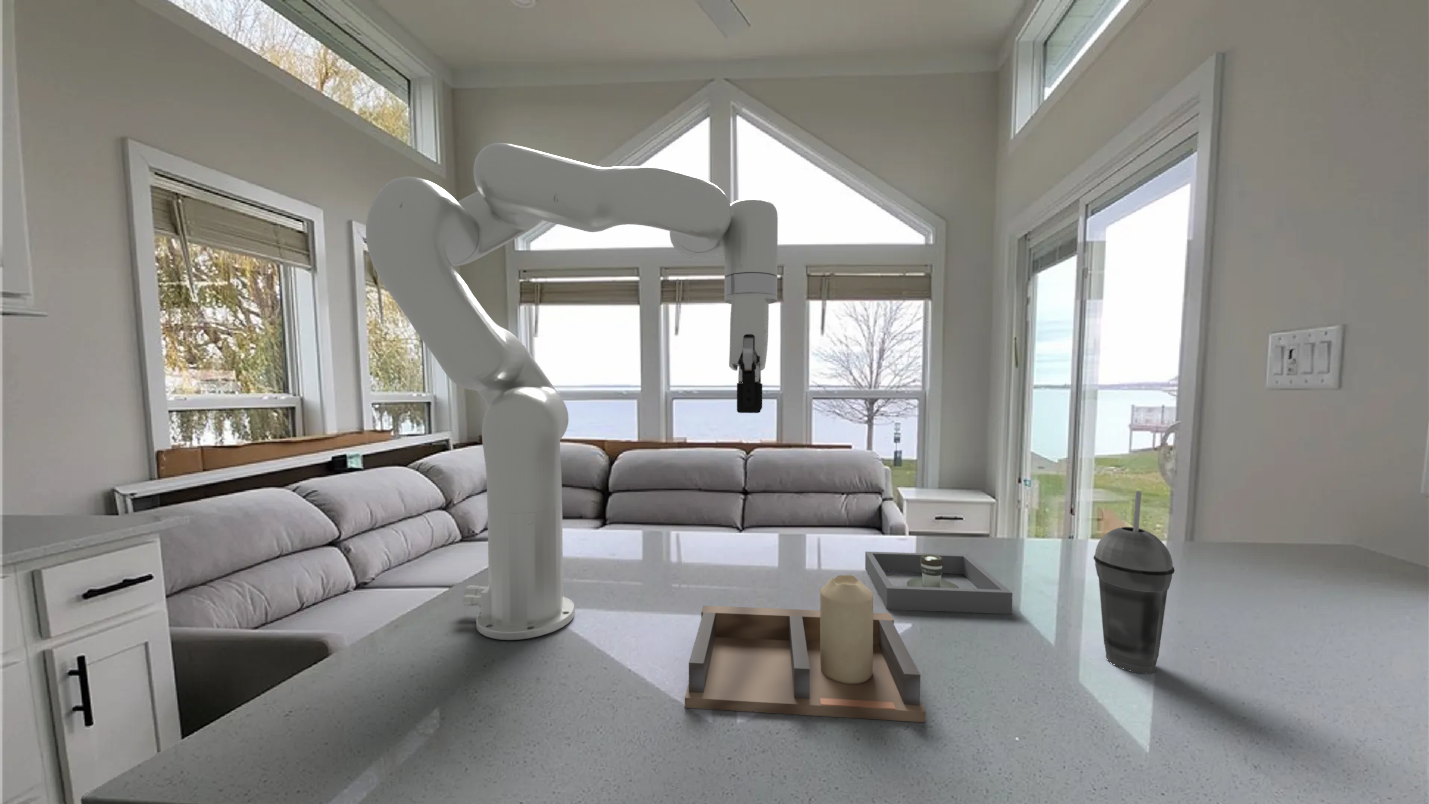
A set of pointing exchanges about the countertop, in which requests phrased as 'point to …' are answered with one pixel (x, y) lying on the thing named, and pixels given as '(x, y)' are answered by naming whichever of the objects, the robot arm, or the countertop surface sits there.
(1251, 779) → the countertop surface
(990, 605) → the grey shallow square tray
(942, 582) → the coffee cup
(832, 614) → the candle
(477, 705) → the countertop surface
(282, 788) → the countertop surface
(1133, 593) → the beverage cup
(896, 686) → the wooden divided tray
